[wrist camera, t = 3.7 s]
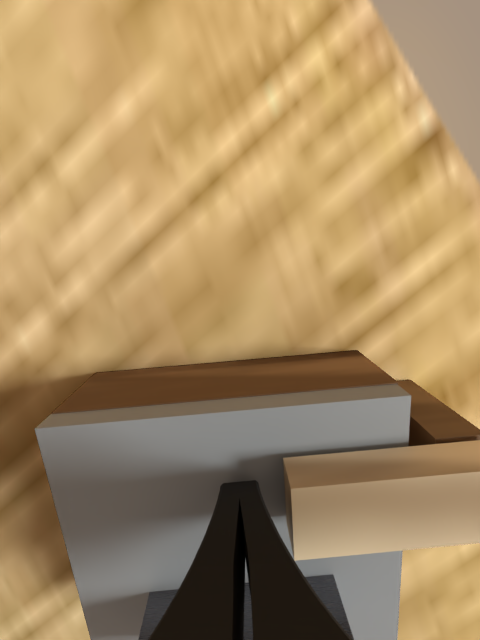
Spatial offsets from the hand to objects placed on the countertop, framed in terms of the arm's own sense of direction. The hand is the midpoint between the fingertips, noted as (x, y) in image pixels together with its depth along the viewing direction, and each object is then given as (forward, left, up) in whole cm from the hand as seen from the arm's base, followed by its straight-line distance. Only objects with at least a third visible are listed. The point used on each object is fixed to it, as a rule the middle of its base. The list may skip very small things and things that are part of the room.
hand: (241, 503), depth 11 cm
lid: (-4, 0, -2) cm, 4 cm away
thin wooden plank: (0, -6, 0) cm, 6 cm away
